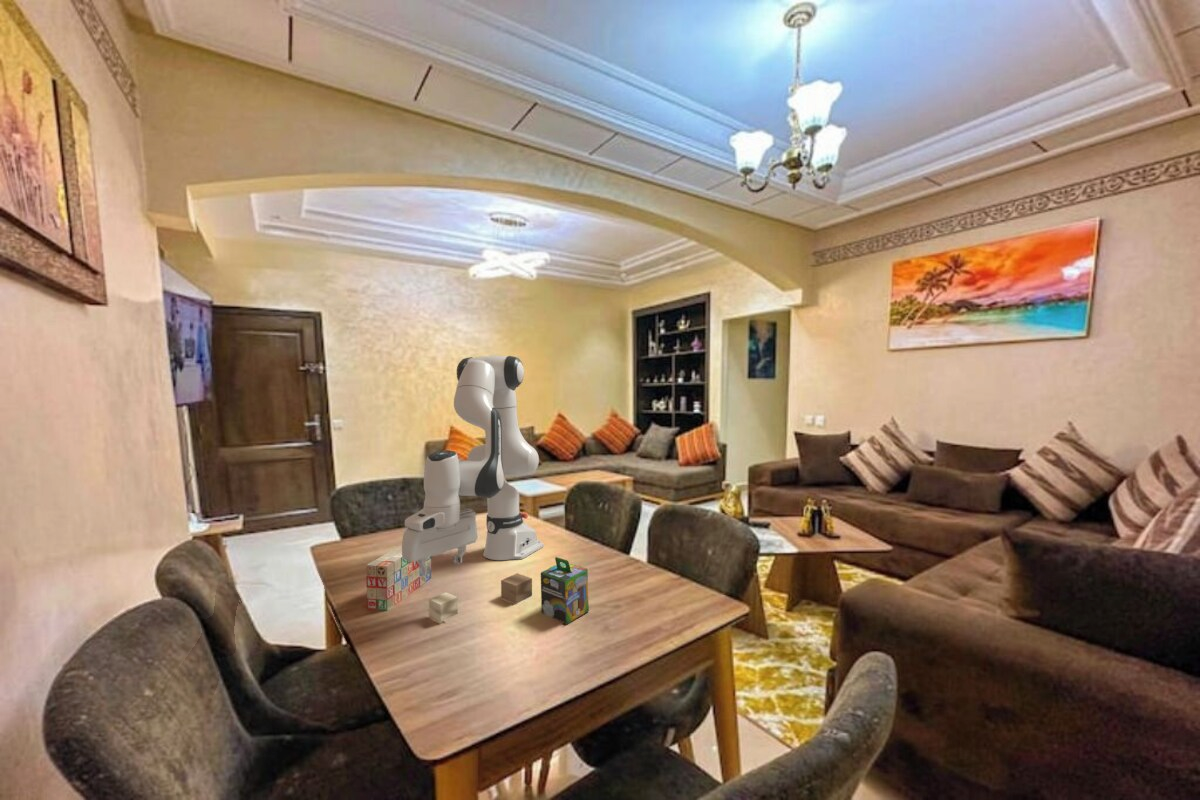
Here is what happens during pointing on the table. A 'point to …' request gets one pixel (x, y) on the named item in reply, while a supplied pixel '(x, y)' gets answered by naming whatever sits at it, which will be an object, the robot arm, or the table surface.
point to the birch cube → (443, 607)
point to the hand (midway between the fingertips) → (442, 568)
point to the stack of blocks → (392, 579)
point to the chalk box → (564, 591)
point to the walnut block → (516, 588)
